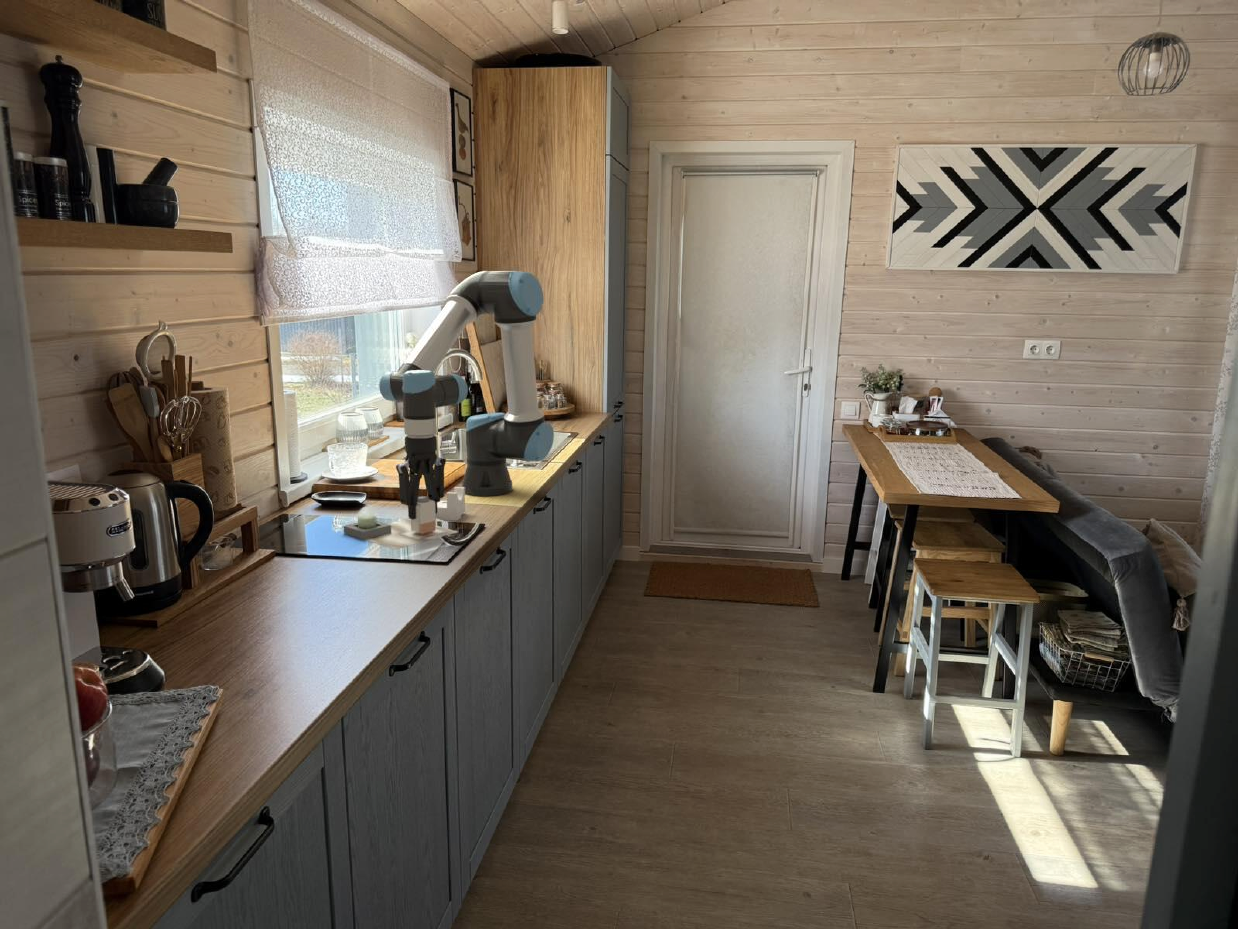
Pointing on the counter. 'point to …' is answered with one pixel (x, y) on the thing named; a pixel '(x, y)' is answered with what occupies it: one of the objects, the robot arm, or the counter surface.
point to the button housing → (367, 530)
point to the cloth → (407, 535)
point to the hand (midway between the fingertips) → (423, 529)
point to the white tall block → (426, 514)
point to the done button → (367, 521)
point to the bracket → (452, 505)
